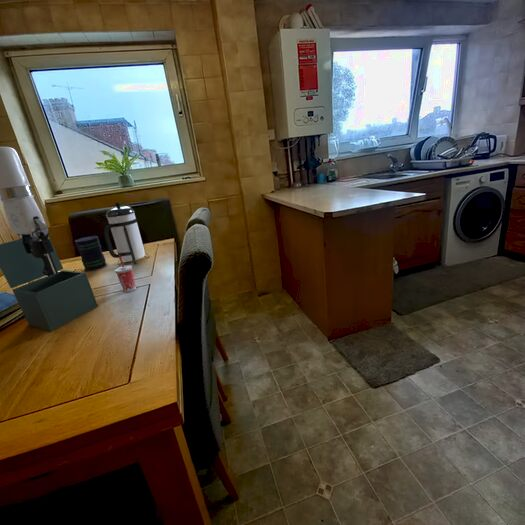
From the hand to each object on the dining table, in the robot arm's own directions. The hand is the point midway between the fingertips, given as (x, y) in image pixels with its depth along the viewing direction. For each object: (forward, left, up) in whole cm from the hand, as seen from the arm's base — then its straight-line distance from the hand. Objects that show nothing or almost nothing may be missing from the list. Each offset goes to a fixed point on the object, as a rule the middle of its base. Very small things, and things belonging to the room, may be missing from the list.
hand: (40, 252), depth 85 cm
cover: (-8, 0, -3) cm, 8 cm away
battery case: (-1, 0, -23) cm, 23 cm away
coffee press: (-22, +47, -23) cm, 57 cm away
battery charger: (0, 0, -8) cm, 8 cm away
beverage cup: (+6, +21, -23) cm, 32 cm away
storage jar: (-37, +37, -23) cm, 57 cm away
